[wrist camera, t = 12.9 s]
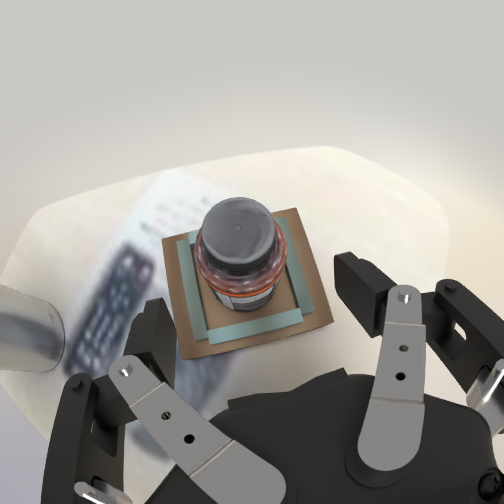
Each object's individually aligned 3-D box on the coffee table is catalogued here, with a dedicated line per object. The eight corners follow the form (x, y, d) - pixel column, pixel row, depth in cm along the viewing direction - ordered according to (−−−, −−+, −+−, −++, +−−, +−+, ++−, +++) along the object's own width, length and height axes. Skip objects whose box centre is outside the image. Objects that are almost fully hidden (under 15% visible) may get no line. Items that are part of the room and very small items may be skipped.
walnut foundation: (190, 359, 26) (178, 360, 21) (169, 249, 30) (157, 232, 25) (326, 325, 27) (338, 320, 22) (292, 220, 31) (298, 199, 26)
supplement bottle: (211, 252, 26) (187, 183, 16) (274, 249, 26) (288, 178, 16) (212, 315, 24) (180, 282, 14) (278, 312, 24) (300, 278, 14)
